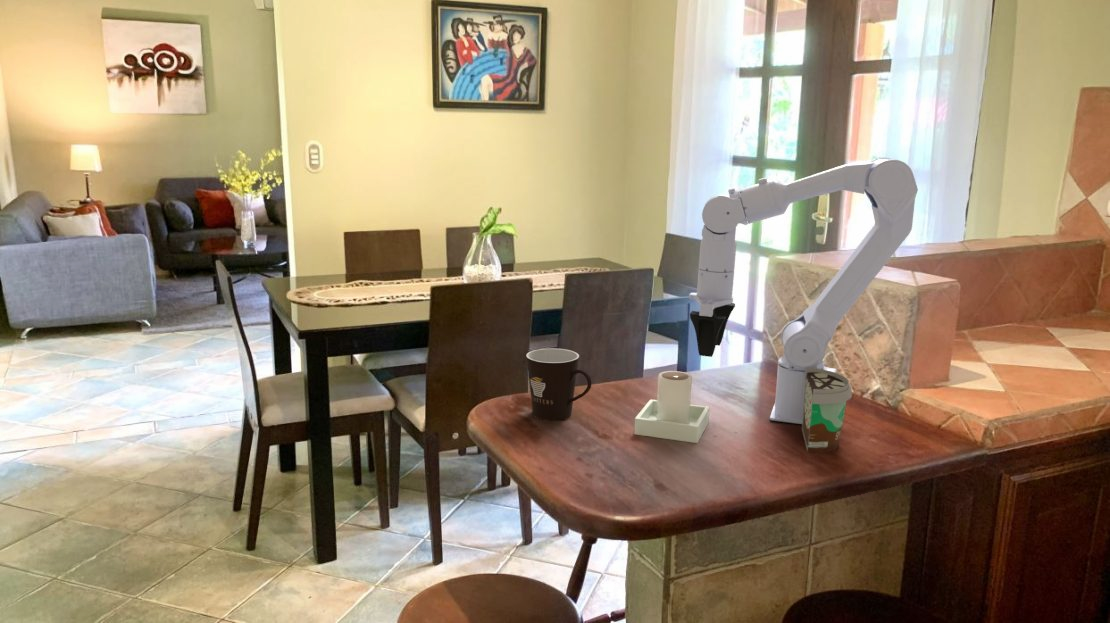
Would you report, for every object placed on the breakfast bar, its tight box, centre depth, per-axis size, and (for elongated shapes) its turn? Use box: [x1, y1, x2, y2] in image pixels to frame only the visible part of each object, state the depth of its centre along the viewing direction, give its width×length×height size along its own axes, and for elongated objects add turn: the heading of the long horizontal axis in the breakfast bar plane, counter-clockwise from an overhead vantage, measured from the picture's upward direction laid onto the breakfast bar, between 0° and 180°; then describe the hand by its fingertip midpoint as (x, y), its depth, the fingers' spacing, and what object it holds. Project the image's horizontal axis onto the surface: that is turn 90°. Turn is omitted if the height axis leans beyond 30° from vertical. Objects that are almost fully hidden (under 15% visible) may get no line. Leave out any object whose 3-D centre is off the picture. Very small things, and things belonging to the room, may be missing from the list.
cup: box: [656, 370, 693, 424], centre depth 129 cm, size 5×5×8 cm
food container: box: [801, 367, 853, 453], centre depth 124 cm, size 12×6×10 cm, turn 168°
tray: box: [634, 399, 711, 444], centre depth 130 cm, size 10×10×3 cm
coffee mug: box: [525, 347, 592, 421], centre depth 133 cm, size 12×9×10 cm
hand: (709, 350), depth 136 cm, fingers open, 7 cm apart
